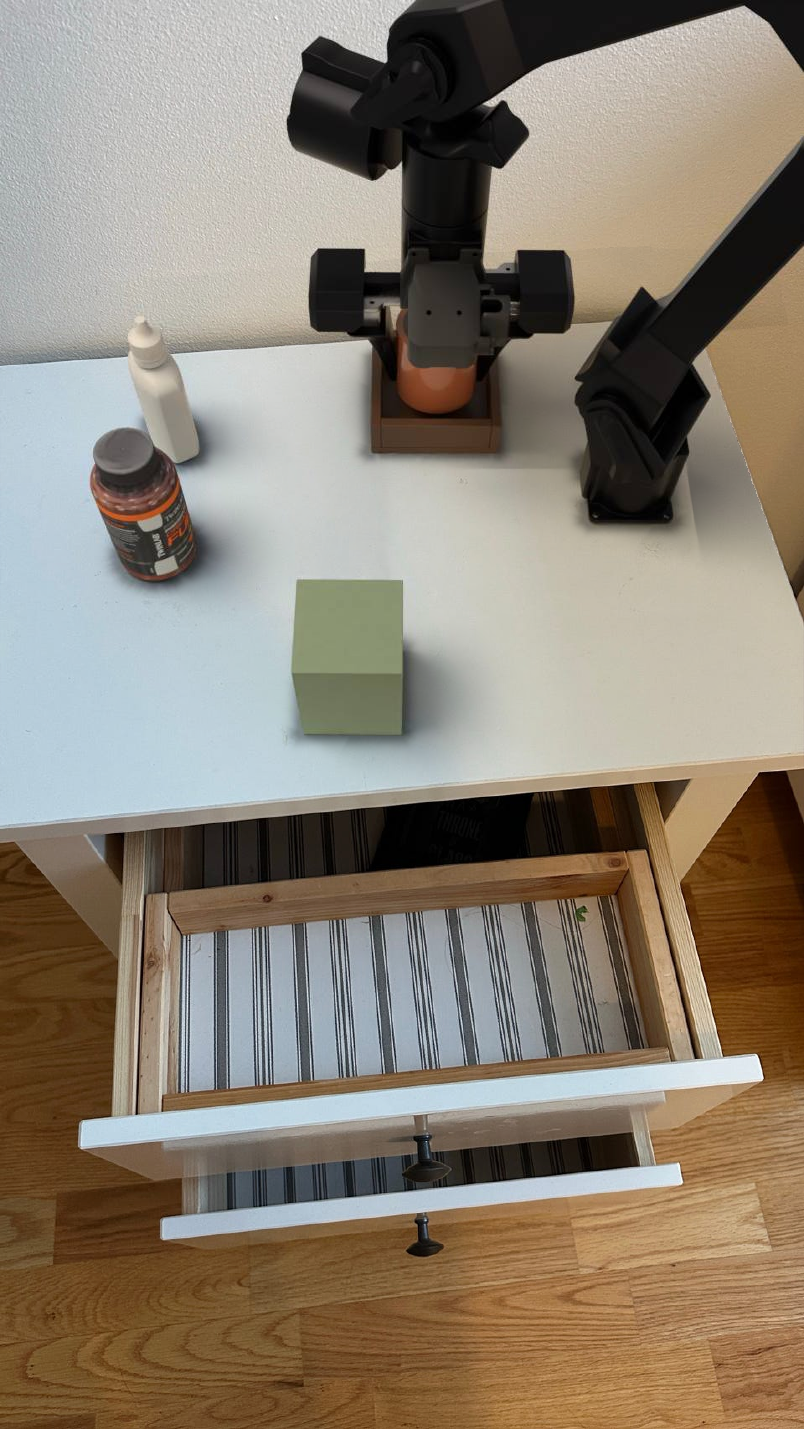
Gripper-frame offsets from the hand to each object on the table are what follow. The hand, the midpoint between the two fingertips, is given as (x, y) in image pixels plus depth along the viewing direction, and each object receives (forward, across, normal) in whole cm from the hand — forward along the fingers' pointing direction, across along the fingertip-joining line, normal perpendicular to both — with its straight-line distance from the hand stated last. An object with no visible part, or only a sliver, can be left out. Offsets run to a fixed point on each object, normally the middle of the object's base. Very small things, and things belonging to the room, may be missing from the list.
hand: (436, 377), depth 78 cm
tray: (+3, 0, 0) cm, 3 cm away
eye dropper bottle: (+3, -21, -4) cm, 22 cm away
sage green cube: (+3, -6, -26) cm, 27 cm away
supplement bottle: (+3, -21, -15) cm, 26 cm away
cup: (+1, 0, 0) cm, 1 cm away
